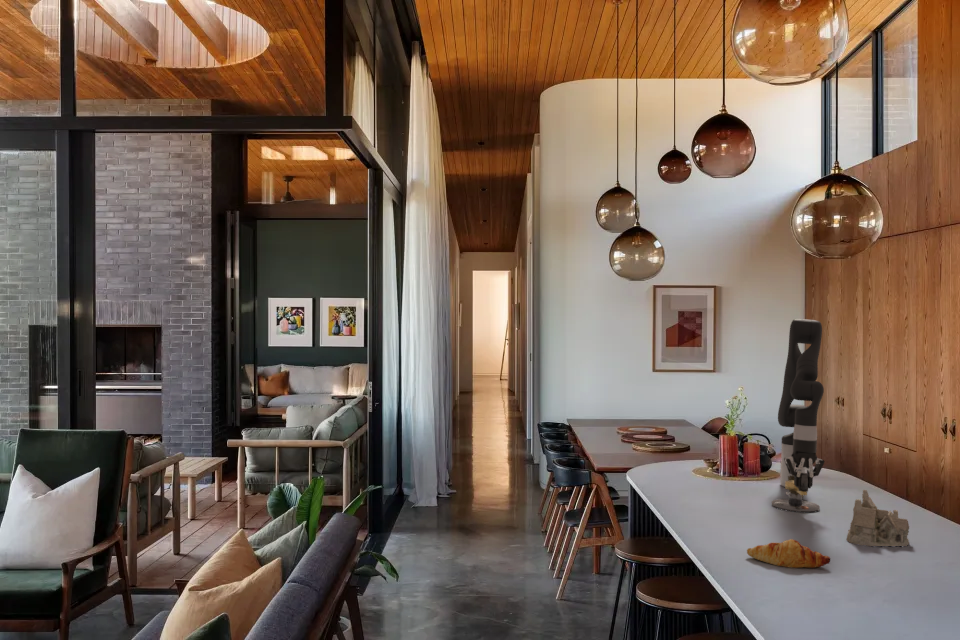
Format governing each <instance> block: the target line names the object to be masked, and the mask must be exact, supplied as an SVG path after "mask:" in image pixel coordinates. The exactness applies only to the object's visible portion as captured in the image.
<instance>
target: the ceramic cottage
mask: <svg viewBox="0 0 960 640" xmlns="http://www.w3.org/2000/svg"><path fill="white" fill-rule="evenodd" d="M869 495H870V494H869V492H868V489H863V490H862V495H861V497H862V500H861V499H860V498H858V499H855V501H854V505H853V512H852V513H853V515H852V520H851V522H850V526H849V529H848V531H847V535H846V542H848V543H850V544H853V545H857V544H859V545H858V546H863V545H867V546H866V547H871V546H906V547H908V546H909V545H910V544H909V543H910V539H909V538H908V536H909V533H910V531H909V530H910V526H909V521H908V519H907V518H900V517H899V511H898V510H897V509H894V510H893V511H891V510H887V509H878V506H877V505H876V504H875V503H874V501H873V500H872V499H873V498H871V497H870V496H869ZM907 545H908V546H907Z"/></svg>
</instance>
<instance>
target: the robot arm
mask: <svg viewBox="0 0 960 640" xmlns="http://www.w3.org/2000/svg"><path fill="white" fill-rule="evenodd" d="M788 333H789V334H788V348H787V350H788V351H787V358H786V364H785V368H784V376H783V384H782V385H783V386H782V393H781V399H780V403H779V406H778V412H777V421H778V425H779V426H781V427H784V428H793V432H791V433H789V434H783V436H782V437H781V456H780V457H781V461H780V478H779V479H780V482H779V483H780V486H782V487H785V481H788V478H789V477H790V475H791V476H792V475H793V476H794V485H795V486H796V487H797V488H800V481H801V477H800V474H801V473H808V489H811V488H812V487H813V482H814V481H813V478H814V477H818V476H819V475H820V473H821V471H822V469H823V466H824V464H825V460H823V459H821V458H818V456H817V446H818V445H817V443H818V442H817V441H818V440H817V439H818V430H817V424H818V423H817V422H818V410H819V407H820V403H821V401H822V398H823V397H824V391H825V388H824V385H823V384H822V382H821V381H818V380H817V379H818V376H819V375H818V374H819V370H818V369H819V368H818V366H819V364H818V363H819V358H820V350H821V343H822V337H823V325H822V323H821V321H820V320H815V319H807V318H805V319H803V318H794V319H793V320H791V323H790V326H789V332H788ZM799 344H803V345H810V346H809V347H808V348H807V349H805V350H804V351H803V352H801V350H800V347H799ZM794 400H797V401H805V402H811V403H810V404H809V405H808V406H805V405H803V404H792V403H793V401H794ZM814 464H815V466H814ZM788 476H789V477H788Z"/></svg>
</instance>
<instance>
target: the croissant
mask: <svg viewBox="0 0 960 640" xmlns="http://www.w3.org/2000/svg"><path fill="white" fill-rule="evenodd" d="M746 554H747V555H748V556H749V557H751V558H752V559H755V560H758V561H761V562H764V563H767V564H770V565H773V566H778V567H785V568H791V569H792V568H795V569H796V568H797V569H798V568H810V569H811V568H812V569H814V568H821V567H824V566H825V565H828V564H830V563H831V558H830V556H828V555H823V554H822V553H820V552H818V551H813V550H811V549H810V548H809V546H808V547H807V546H804V545H802V544H801V543H800V542H799V541H798V540H796V539H793V538H791V539H787V540H784V541H782V542H769V543H768V544H764V545H762V544H761V545H759V544H758V545H756V546H754V547H752V548H751V547H749V548H747V549H746Z"/></svg>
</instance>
